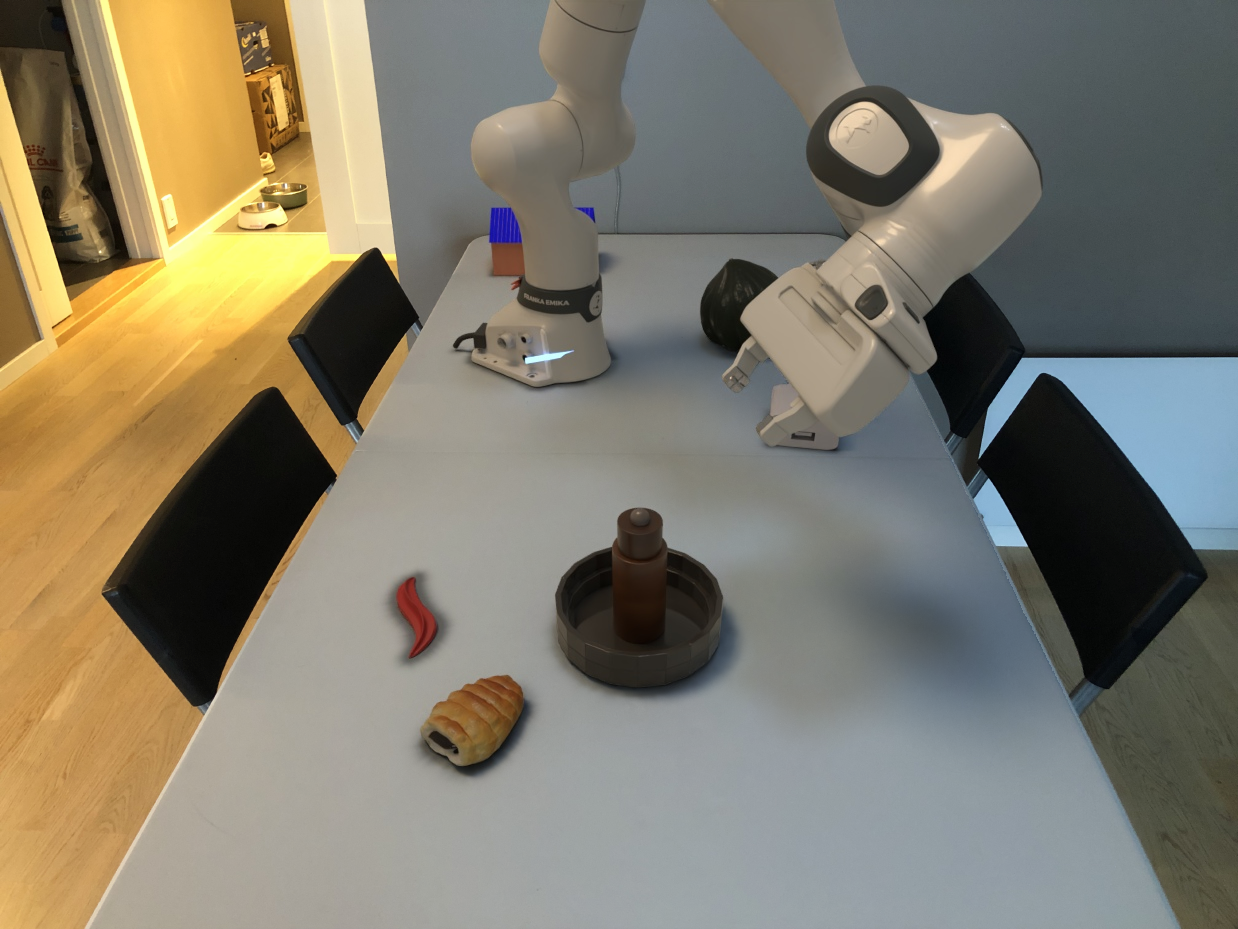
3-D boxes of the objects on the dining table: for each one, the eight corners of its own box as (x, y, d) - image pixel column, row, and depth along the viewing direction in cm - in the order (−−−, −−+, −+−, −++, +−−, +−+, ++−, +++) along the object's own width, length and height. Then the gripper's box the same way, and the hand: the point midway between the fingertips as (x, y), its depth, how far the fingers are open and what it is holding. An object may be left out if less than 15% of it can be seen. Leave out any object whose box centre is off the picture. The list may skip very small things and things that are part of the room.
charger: (835, 397, 127) (837, 451, 115) (772, 392, 128) (766, 444, 116) (839, 368, 124) (841, 420, 112) (774, 363, 126) (769, 413, 114)
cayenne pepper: (432, 656, 84) (430, 642, 83) (384, 659, 83) (381, 645, 82) (444, 576, 94) (442, 562, 93) (401, 578, 93) (398, 564, 92)
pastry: (488, 676, 81) (485, 647, 79) (544, 708, 78) (542, 679, 76) (415, 743, 75) (409, 713, 73) (472, 781, 72) (468, 751, 70)
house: (593, 275, 170) (592, 216, 163) (491, 275, 170) (486, 216, 164) (596, 255, 180) (595, 198, 173) (500, 255, 180) (495, 198, 174)
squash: (823, 315, 139) (776, 233, 138) (766, 347, 130) (717, 260, 130) (765, 348, 150) (722, 273, 150) (710, 380, 142) (665, 300, 141)
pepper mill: (603, 632, 86) (601, 516, 78) (628, 601, 89) (628, 488, 82) (650, 650, 83) (652, 533, 76) (674, 617, 87) (678, 503, 80)
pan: (526, 653, 84) (522, 619, 82) (607, 559, 96) (606, 527, 93) (676, 715, 77) (678, 680, 75) (744, 606, 89) (747, 573, 87)
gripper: (798, 231, 78) (689, 339, 82) (903, 321, 62) (760, 452, 65) (837, 275, 82) (731, 377, 85) (948, 371, 65) (809, 494, 68)
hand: (744, 411), depth 75 cm, fingers open, 8 cm apart
